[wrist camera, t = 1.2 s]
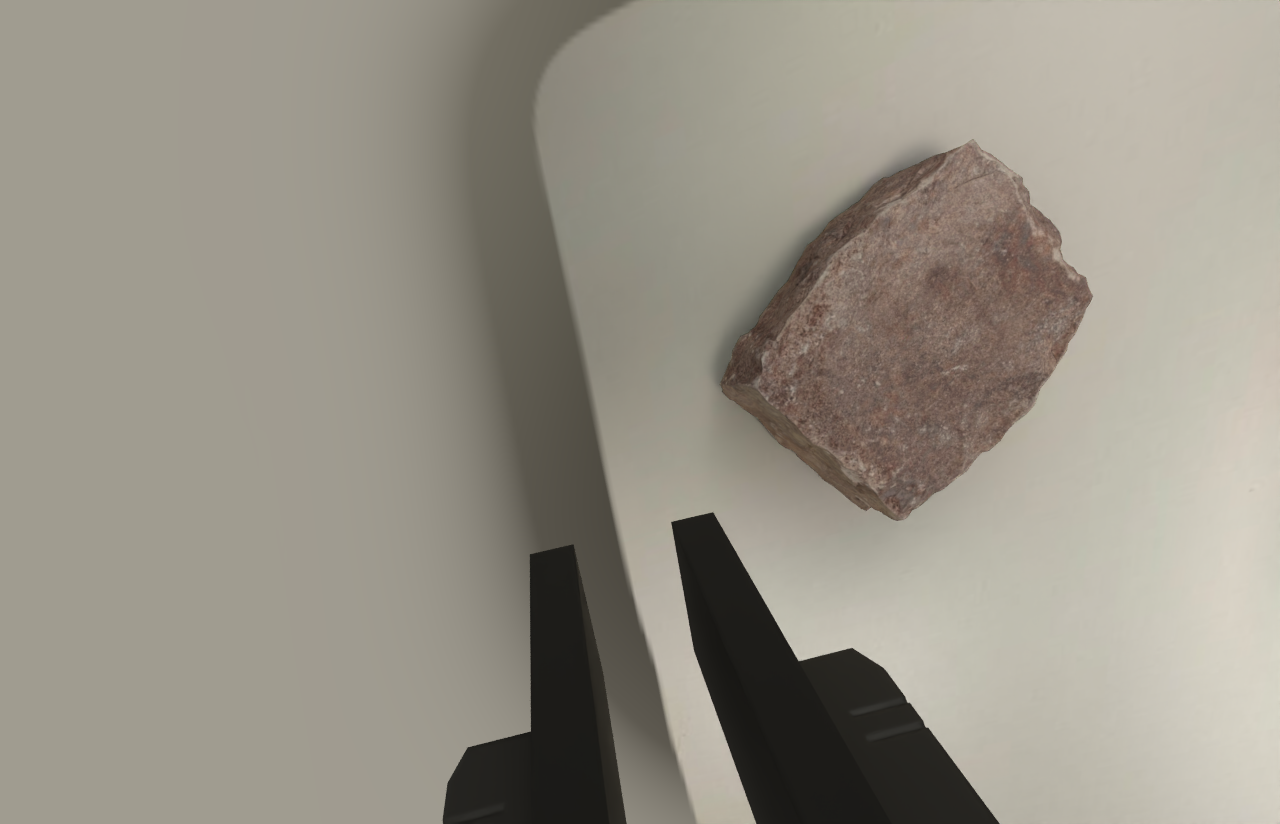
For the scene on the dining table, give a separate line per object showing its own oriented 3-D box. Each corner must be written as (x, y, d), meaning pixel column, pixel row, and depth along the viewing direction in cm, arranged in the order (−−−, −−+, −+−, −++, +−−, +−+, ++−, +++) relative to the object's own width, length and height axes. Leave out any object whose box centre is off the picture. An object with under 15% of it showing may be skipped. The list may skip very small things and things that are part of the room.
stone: (915, 112, 25) (1002, 97, 21) (1052, 282, 28) (1154, 301, 23) (689, 361, 26) (725, 397, 22) (842, 498, 29) (900, 554, 25)
